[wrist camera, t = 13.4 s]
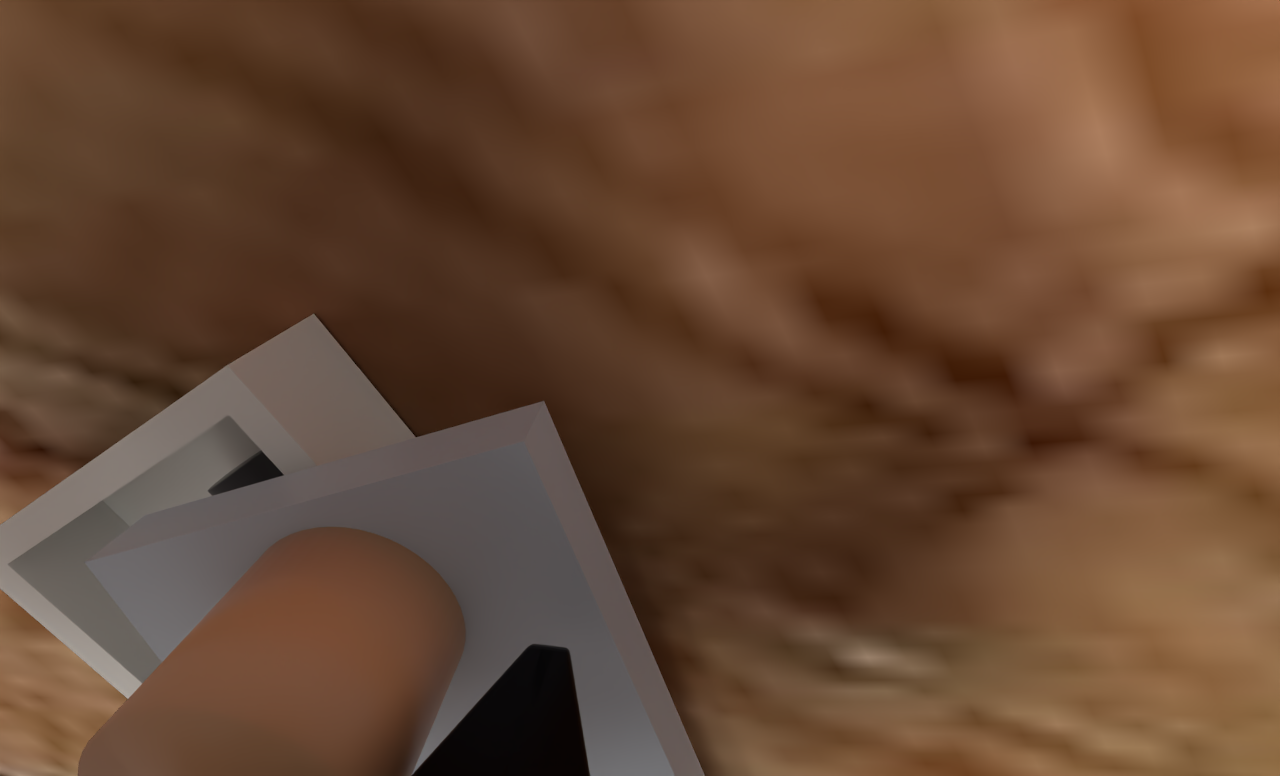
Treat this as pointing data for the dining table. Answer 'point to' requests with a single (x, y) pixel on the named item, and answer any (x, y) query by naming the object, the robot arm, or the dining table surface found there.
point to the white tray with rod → (186, 481)
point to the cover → (377, 614)
